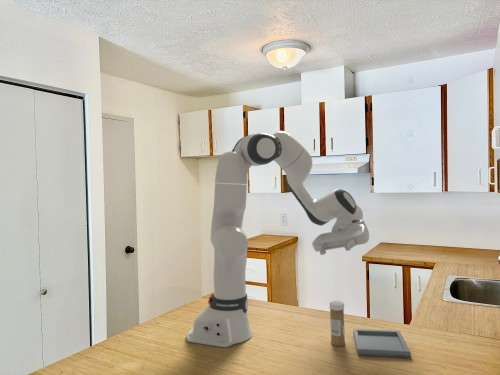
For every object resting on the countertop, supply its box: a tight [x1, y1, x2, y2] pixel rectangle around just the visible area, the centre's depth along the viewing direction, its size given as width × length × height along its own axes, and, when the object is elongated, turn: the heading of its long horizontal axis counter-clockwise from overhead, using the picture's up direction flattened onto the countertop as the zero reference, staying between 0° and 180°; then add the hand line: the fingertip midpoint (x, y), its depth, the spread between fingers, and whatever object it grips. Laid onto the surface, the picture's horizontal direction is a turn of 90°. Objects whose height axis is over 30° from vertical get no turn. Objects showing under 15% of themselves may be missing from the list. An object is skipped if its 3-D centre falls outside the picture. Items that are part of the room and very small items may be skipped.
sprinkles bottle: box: [329, 300, 346, 347], centre depth 119 cm, size 5×5×14 cm
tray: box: [352, 328, 412, 359], centre depth 117 cm, size 15×15×2 cm
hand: (334, 251), depth 126 cm, fingers open, 8 cm apart
